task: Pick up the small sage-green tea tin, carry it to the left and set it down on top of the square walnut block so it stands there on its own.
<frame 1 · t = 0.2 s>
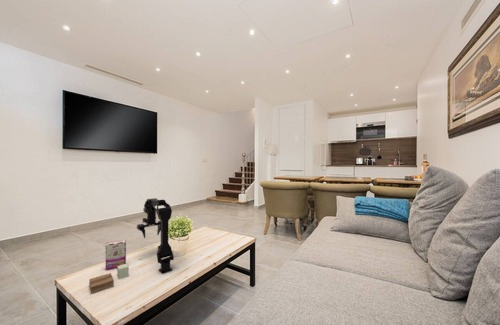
hand: (151, 236, 153), 14 cm above the table, fingers open, 9 cm apart
candy bar box: (115, 267, 137), on the table
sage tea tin: (122, 276, 126), on the table
walnut block: (101, 286, 115), on the table
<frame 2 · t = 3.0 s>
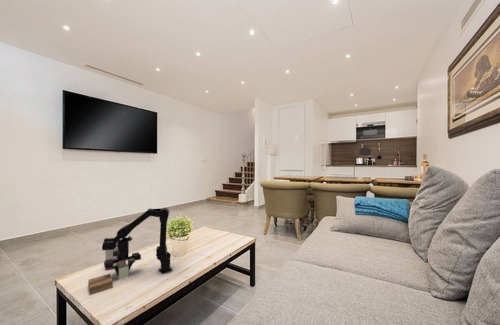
hand: (122, 274, 126), 1 cm above the table, fingers closed on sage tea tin, 5 cm apart
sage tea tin: (122, 276, 126), on the table, touching gripper
everything else where it was.
when the fingers open (6 cm above the table, at t = 7.0 s): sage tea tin stays where it is, resting on walnut block.
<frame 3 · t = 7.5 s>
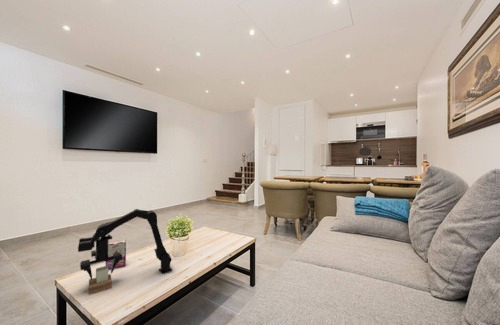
hand: (101, 275, 115), 6 cm above the table, fingers open, 9 cm apart
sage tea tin: (101, 279, 115), point 4 cm above the table, touching walnut block
walnut block: (100, 287, 114), on the table, touching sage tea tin
everything else where it was.
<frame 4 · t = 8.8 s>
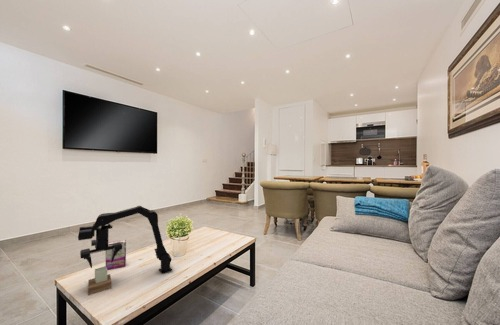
hand: (101, 265, 115), 12 cm above the table, fingers open, 9 cm apart
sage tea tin: (101, 280, 115), point 4 cm above the table
walnut block: (99, 288, 114), on the table
everything else where it was.
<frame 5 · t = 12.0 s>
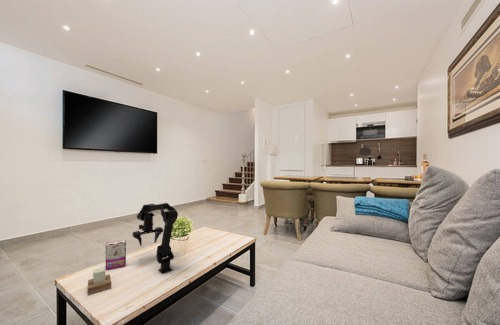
hand: (148, 244, 144), 12 cm above the table, fingers open, 9 cm apart
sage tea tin: (99, 280, 114), point 4 cm above the table, touching walnut block
walnut block: (99, 288, 114), on the table, touching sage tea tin
everything else where it was.
at the end: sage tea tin inside the target area on the walnut block (0.2 cm from its centre), point 4.0 cm above the walnut block's base; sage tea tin tilted 0°; the gripper is holding nothing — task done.
